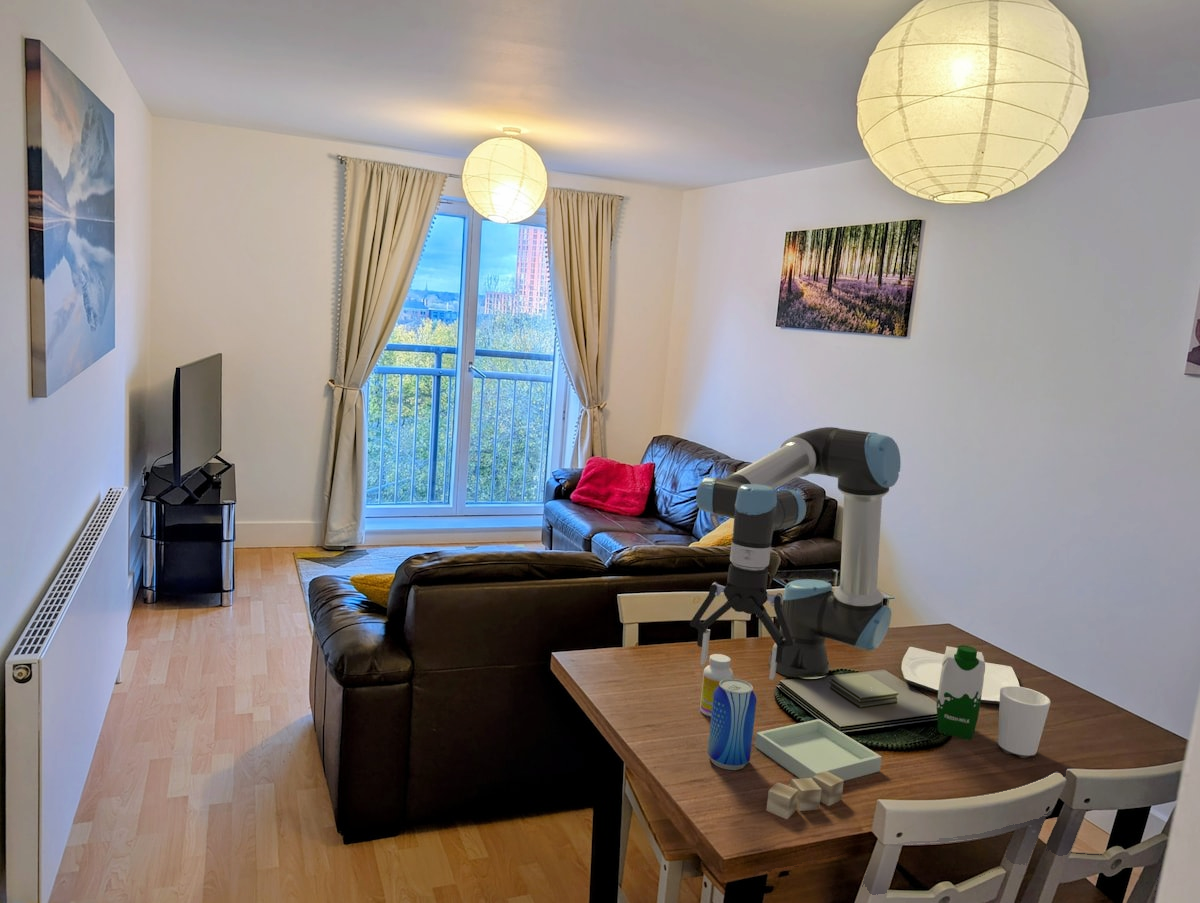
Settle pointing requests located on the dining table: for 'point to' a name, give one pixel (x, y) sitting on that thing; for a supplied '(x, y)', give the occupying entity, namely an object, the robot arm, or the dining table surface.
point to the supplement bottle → (713, 680)
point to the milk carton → (960, 691)
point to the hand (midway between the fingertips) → (737, 669)
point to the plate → (926, 674)
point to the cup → (1021, 720)
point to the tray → (817, 751)
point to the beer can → (732, 724)
